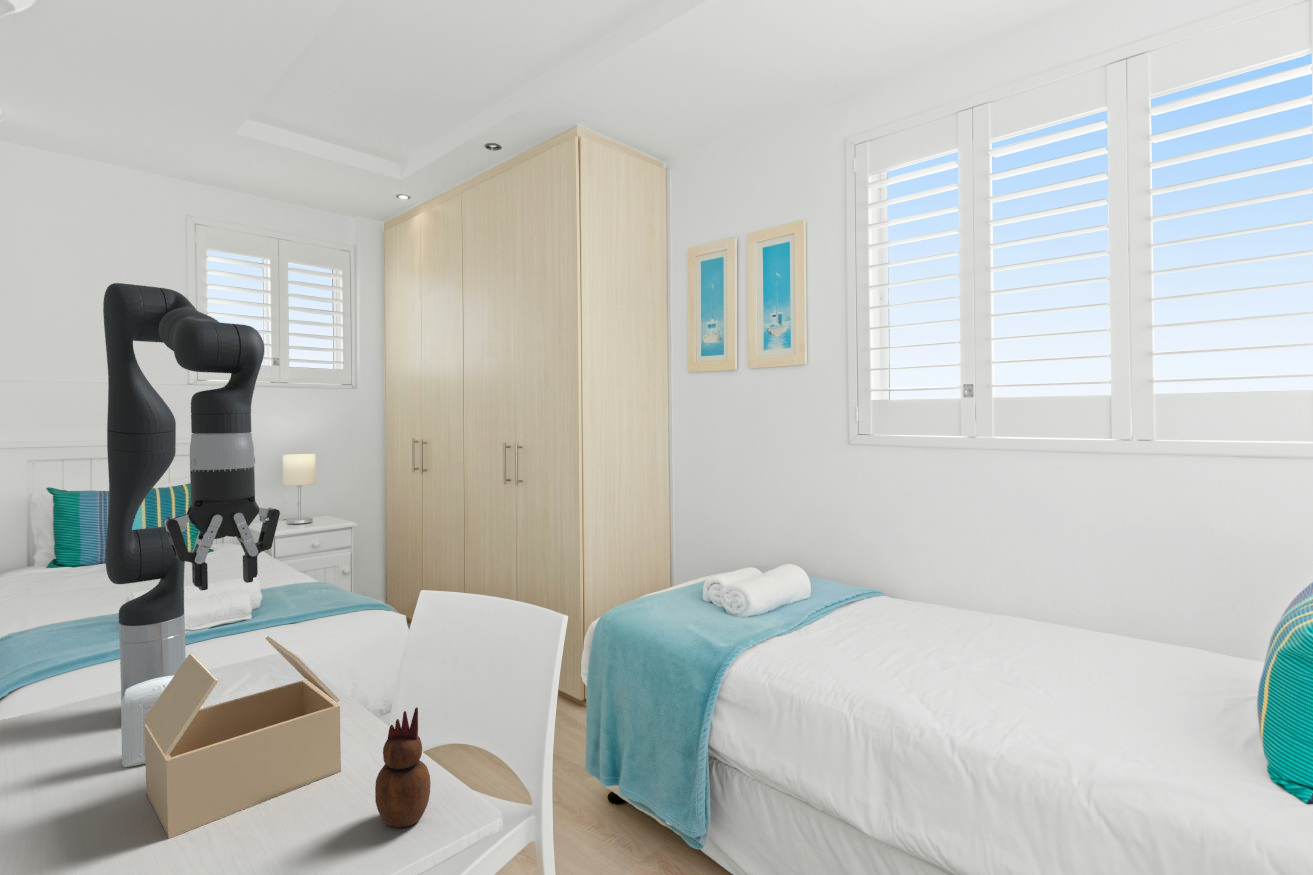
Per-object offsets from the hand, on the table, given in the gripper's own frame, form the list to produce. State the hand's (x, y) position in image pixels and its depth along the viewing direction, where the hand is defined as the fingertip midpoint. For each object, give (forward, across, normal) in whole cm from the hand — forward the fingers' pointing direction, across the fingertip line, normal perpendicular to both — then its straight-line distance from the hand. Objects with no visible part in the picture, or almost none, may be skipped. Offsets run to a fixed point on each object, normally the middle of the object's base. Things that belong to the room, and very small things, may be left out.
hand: (225, 584), depth 92 cm
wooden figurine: (+30, -14, +25) cm, 41 cm away
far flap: (+15, -9, 0) cm, 18 cm away
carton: (+29, -2, 0) cm, 29 cm away
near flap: (+15, +5, 0) cm, 16 cm away
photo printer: (+30, +4, -18) cm, 35 cm away
